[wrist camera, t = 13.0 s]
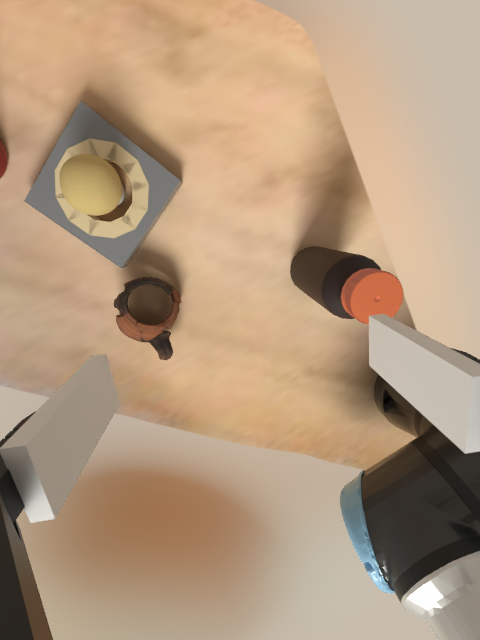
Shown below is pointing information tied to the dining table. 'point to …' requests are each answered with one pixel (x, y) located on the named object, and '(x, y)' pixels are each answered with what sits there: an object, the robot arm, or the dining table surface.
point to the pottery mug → (146, 331)
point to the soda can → (2, 159)
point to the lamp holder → (111, 145)
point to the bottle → (346, 283)
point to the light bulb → (91, 184)
